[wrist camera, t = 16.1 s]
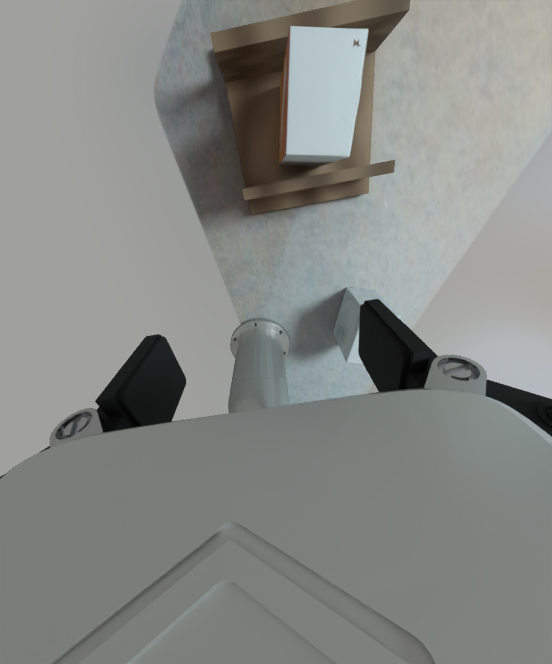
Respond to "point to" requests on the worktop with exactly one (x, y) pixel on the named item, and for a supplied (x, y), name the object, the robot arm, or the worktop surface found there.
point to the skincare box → (353, 321)
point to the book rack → (264, 105)
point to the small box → (320, 94)
